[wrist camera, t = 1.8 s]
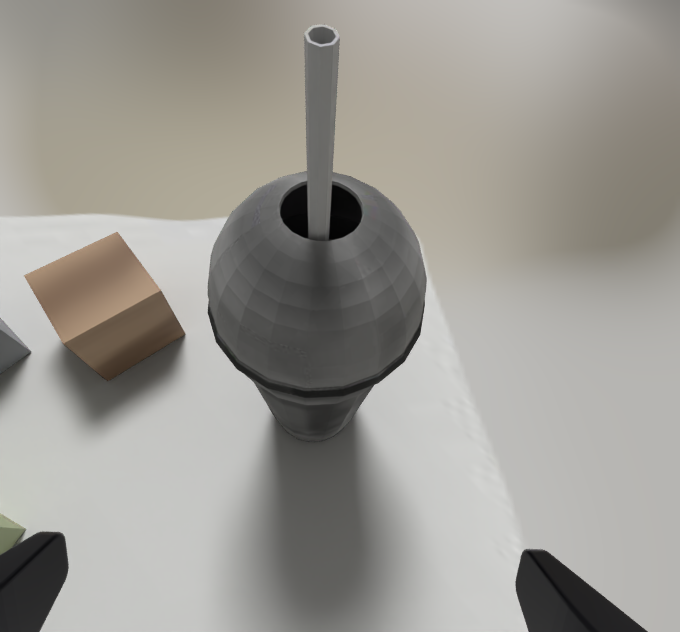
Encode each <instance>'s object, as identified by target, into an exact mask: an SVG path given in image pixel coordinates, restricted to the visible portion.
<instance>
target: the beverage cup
mask: <svg viewBox="0 0 680 632" xmlns="http://www.w3.org/2000/svg"><path fill="white" fill-rule="evenodd" d="M339 41H340V37H339V35H338V33H337V31H336V29H335V28H332V27H330V26H327V25H325V24H322V25H314V26H310V28H309V29H308V30H307V31H306V32H305V33H304V44H305V45H304V46H305V95H306V145H307V171H305V172H301V173H296V174H292V175H287V176H283V177H280V178H278V179H276V180H274V181H272V182H270V183H268V184H266V185H264V186H262V187H260V188H258V189H256V190H255V191H254V192H253V193H252V194H251V195H250V196H249V197H248V198H247V199H246V200H244V201H243V202H242V203H241V204H240V205H239V206H238V207H237V208H236V209H235V210H234V211H232V213H231V215H230V216H229V218H228V219H227V221H226V223H225V225H224V227H223V229H222V231H221V232H220V234H219V236H218V238H217V240H216V242H215V244H214V247H213V250H212V254H211V260H210V269H209V279H208V298H209V304H208V315H209V319H210V322H211V326H212V329H213V332H214V336H215V339H216V343H217V344H218V345H219V346H220V348H221V349H222V350H223V352H224V353H225V354H226V356H227V357H228V358H229V359H230V361H231V362H232V363H233V365H234V366H235V367H236V369H238V370H239V371H241V372H242V373H244V374H245V375H246V376H247V377H249V378H250V379H251V380H252V381H253V382H254V383H255V385H256V386H257V388H258V390H259V391H260V393H261V395H262V396H263V398H264V400H265V401H266V403H267V405H268V407H269V408H270V410H271V412H272V413H273V415H274V416H275V418H276V419H277V420H278V422H279V423H280V424H281V425H282V427H283V428H284V429H285V430H286V431H287V432H288V433H289V434H291V435H293V436H294V437H296V438H297V439H301V440H305V441H308V442H313V441H323V440H326V439H328V438H331V437H333V436H335V435H336V434H337V433H338V432H339V431H341V430H342V429H343V428H344V426H345V425H347V424H348V423H349V421H350V420H351V418H352V417H353V415H354V414H355V412H356V411H357V409H358V408H359V406H360V405H361V404H362V402H363V401H364V399H365V398H366V396H367V395H368V393H369V392H370V390H371V389H372V387H373V386H374V385H375V384H378V383H379V382H380V381H382V380H383V379H384V378H385V377H386V376H388V375H389V374H390V373H391V372H392V371H394V370H395V369H396V368H397V367H399V366H400V365H401V364H402V363H403V362H405V360H406V358H407V356H408V355H409V353H410V351H411V350H412V348H413V346H414V344H415V343H416V341H417V339H418V338H419V336H420V332H421V326H422V320H423V313H424V307H425V299H424V298H425V292H426V280H427V278H426V273H425V268H424V263H423V259H422V254H421V250H420V246H419V241H418V239H417V237H416V235H415V233H414V231H413V230H412V228H411V227H410V225H409V223H408V222H407V220H406V219H405V217H404V216H403V214H402V213H401V211H400V210H399V209H398V208H397V207H396V206H395V204H394V203H392V202H391V201H390V200H389V199H388V198H387V197H385V196H384V195H383V194H382V193H381V192H379V191H378V190H377V189H375V188H374V187H372V186H369V185H368V184H365V183H363V182H361V181H359V180H357V179H355V178H353V177H351V176H347V175H343V174H338V173H333V171H332V170H333V153H334V135H335V116H336V97H337V78H338V60H339Z"/></svg>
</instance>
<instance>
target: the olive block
mask: <svg viewBox="0 0 680 632" xmlns="http://www.w3.org/2000/svg"><path fill="white" fill-rule="evenodd" d="M25 530H26V529H25V528H23V527H22V526H20V525H18V524H17V523H15V522H13V521H12V520H10V519H8V518H7V517H5V516H4V515H2V514H0V555H1V554H2V553H4V552H6V551H7V550H9V549H11V548H12V547H13V545H14V544H15V543H16V541H17V540H18V539H19V538H20V536H21V535H22V534H23V532H24V531H25Z"/></svg>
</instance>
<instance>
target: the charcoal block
mask: <svg viewBox="0 0 680 632" xmlns="http://www.w3.org/2000/svg"><path fill="white" fill-rule="evenodd" d="M29 353H31V351H30V350H29V349H28V348H27V346H26V345H25V344H24V343H23V342H22V341H21V340H20V339H19V338H18V337H17V336H16V334H15V333H14V332H13V331H12V330H11V329H10V328H9V327H8V326H7V325H6V324H5V322H4V321H3V320H2V319H1V318H0V374H1V373H2V372H4V371H5V370H6V369H8V368H9V367H11V366H12V365H14V364H15V363H16V362H18V361H19V360H21V359H22V358H23V357H25V356H26V355H28V354H29Z"/></svg>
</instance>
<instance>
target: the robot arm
mask: <svg viewBox="0 0 680 632" xmlns="http://www.w3.org/2000/svg"><path fill="white" fill-rule="evenodd" d="M67 574H68V557H67V549H66V541H65V536H64V535H63V534H62V533H60V532H39V533H36V534H34V535H33V536H31V537H29V538H28V539H26V540H24V541H23V542H21V543H19V544H18V545H16V546H14V547H12V548H11V549H9V550H7V551H6V552H4V553H2V554H1V555H0V632H40V630H41V628H42V626H43V624H44V622H45V620H46V618H47V616H48V614H49V612H50V610H51V608H52V606H53V604H54V602H55V600H56V598H57V596H58V594H59V592H60V590H61V588H62V586H63V584H64V582H65V580H66V577H67ZM516 592H517V596H518V600H519V603H520V606H521V609H522V612H523V615H524V618H525V622H526V625H527V628H528V631H529V632H647V631H646V630H645V629H644V628H642V627H641V626H640V625H639V624H637V623H636V622H635V621H633V620H632V619H631V618H630V617H629V616H627V615H626V614H625V613H624V612H622V611H621V610H620V609H619V608H617V607H616V606H615V605H614V604H612V603H611V602H610V601H609V600H607V599H606V598H605V597H604V596H602V595H601V594H600V593H599V592H597V591H596V590H595V589H594V588H592V587H591V586H590V585H589V584H587V583H586V582H585V581H584V580H582V579H581V578H580V577H579V576H577V575H576V574H575V573H574V572H572V571H571V570H570V569H569V568H567V567H566V566H565V565H563V564H562V563H561V562H560V561H559V560H557V559H556V558H555V557H554V556H552V555H551V554H550V553H548V552H547V551H545V550H540V549H525V550H524V551H523V552H522V555H521V559H520V564H519V568H518V572H517V577H516Z"/></svg>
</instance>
